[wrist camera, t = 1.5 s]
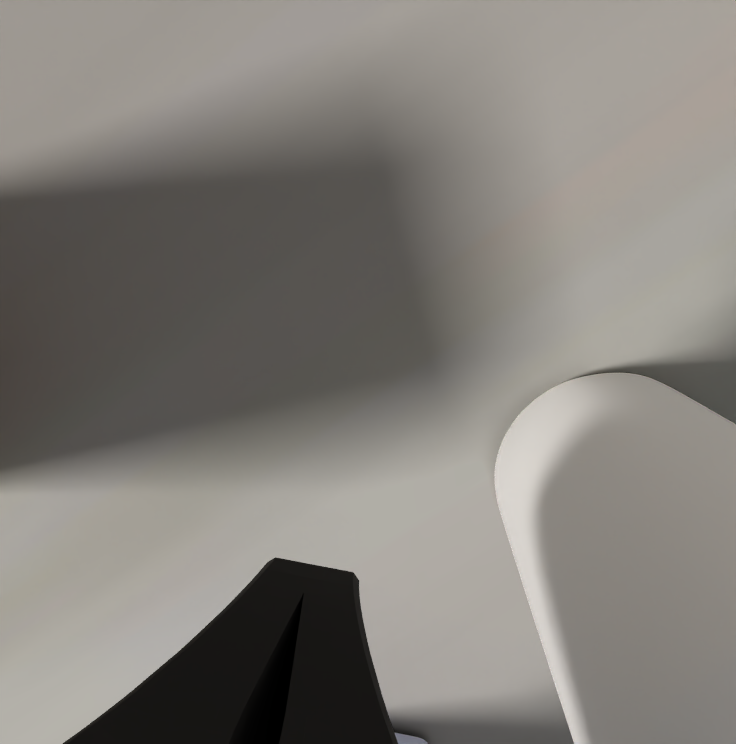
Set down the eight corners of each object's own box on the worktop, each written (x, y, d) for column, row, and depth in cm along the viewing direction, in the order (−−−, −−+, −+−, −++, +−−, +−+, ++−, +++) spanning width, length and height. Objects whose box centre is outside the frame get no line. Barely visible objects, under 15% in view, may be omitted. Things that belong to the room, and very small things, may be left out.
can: (725, 369, 16) (1604, 745, 4) (692, 568, 17) (1266, 1246, 6) (497, 365, 16) (714, 691, 5) (485, 559, 18) (625, 1165, 6)
